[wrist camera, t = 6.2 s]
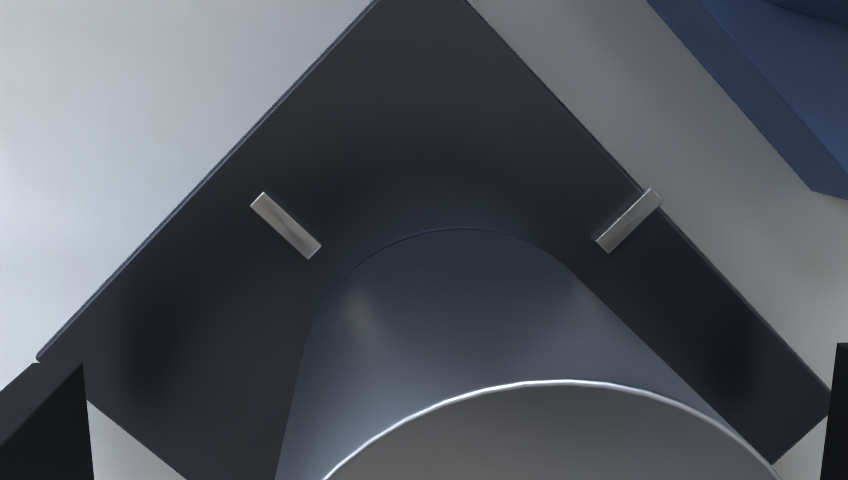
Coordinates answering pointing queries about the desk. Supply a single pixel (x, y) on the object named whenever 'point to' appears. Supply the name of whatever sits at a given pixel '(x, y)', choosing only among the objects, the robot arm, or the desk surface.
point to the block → (779, 74)
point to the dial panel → (391, 223)
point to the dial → (492, 378)
